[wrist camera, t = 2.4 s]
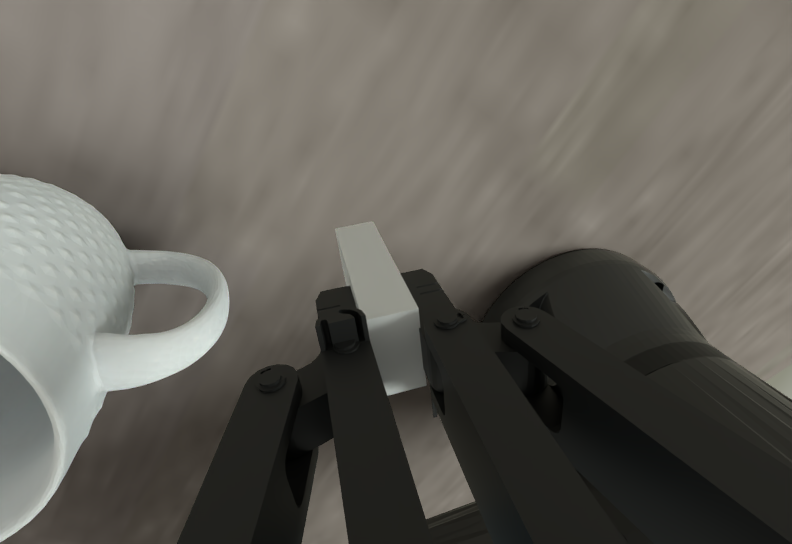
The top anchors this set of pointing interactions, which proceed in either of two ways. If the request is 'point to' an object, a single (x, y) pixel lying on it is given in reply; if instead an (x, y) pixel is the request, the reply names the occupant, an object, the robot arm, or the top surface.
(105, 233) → the mug
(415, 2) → the top surface
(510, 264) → the top surface
